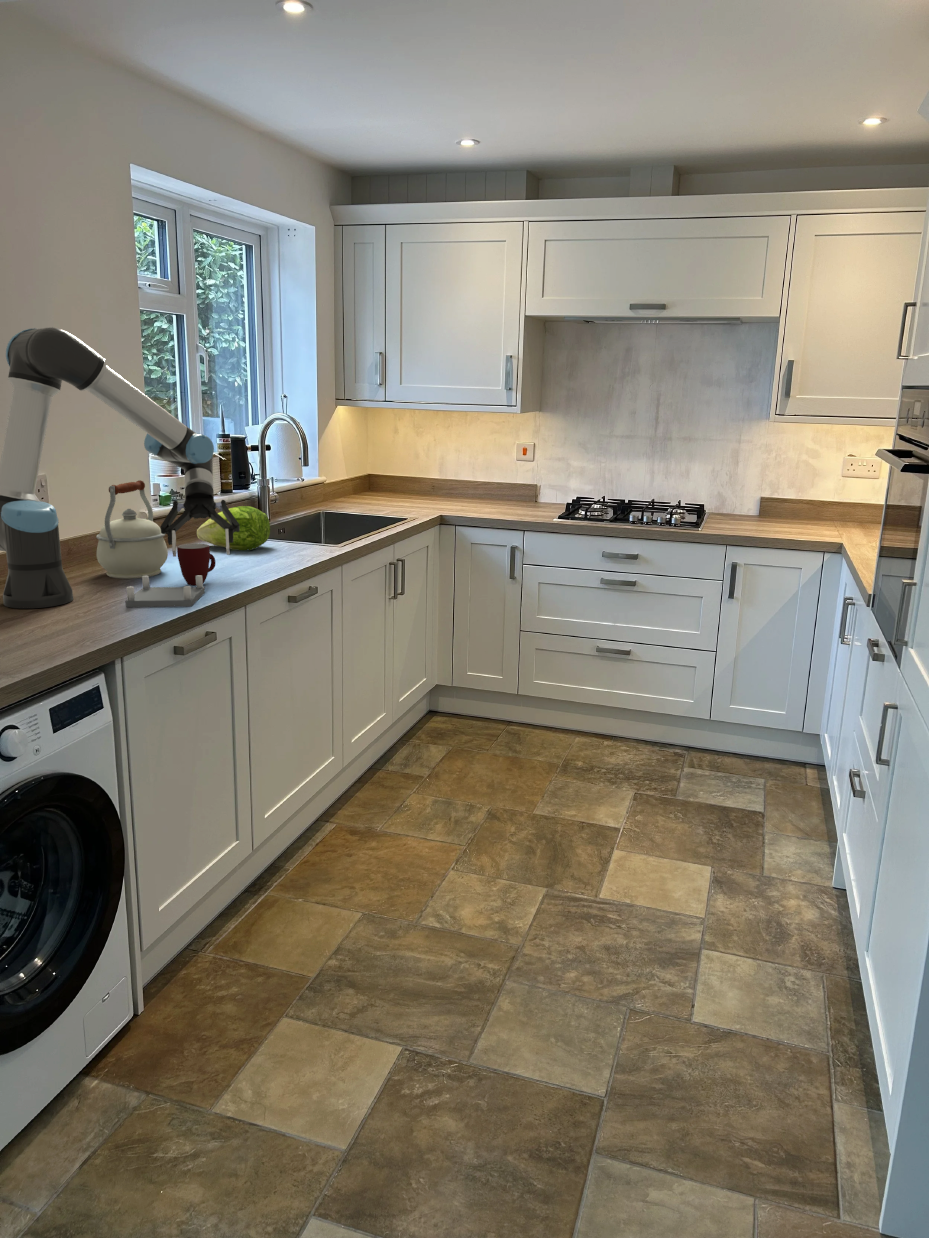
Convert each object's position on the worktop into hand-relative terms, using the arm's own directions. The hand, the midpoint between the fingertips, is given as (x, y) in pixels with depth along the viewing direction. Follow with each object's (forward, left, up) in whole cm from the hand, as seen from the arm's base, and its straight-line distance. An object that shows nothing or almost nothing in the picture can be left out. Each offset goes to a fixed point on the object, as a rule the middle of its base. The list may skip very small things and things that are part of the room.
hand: (201, 552), depth 244 cm
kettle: (-21, +12, -8) cm, 25 cm away
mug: (-1, -3, -8) cm, 8 cm away
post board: (-4, -22, -8) cm, 24 cm away
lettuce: (-2, +53, -8) cm, 54 cm away
